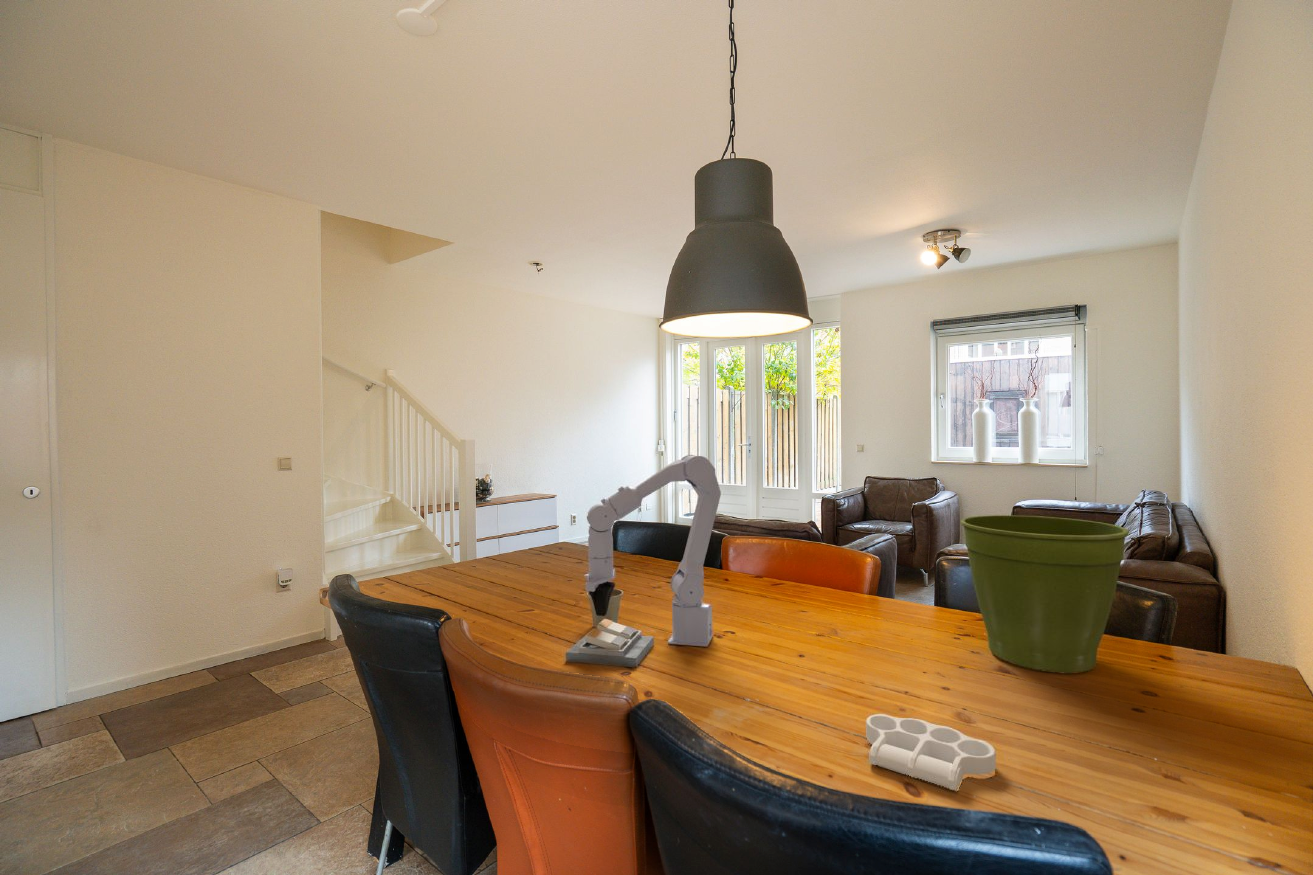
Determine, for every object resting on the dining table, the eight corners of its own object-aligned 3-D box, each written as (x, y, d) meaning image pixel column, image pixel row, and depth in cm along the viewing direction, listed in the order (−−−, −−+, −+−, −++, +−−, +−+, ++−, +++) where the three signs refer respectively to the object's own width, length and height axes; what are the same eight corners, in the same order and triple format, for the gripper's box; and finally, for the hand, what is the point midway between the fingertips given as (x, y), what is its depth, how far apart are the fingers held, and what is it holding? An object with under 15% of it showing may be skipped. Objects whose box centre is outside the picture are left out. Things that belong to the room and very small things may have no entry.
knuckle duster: (847, 763, 88) (879, 724, 99) (984, 808, 76) (1002, 759, 88) (846, 740, 88) (878, 704, 99) (983, 782, 76) (1001, 736, 88)
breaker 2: (634, 635, 138) (636, 628, 138) (628, 642, 133) (630, 635, 133) (603, 625, 140) (604, 618, 140) (596, 631, 136) (597, 624, 135)
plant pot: (962, 671, 120) (960, 529, 120) (963, 628, 146) (961, 512, 146) (1149, 699, 106) (1146, 539, 106) (1113, 646, 132) (1111, 518, 132)
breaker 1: (625, 645, 131) (626, 638, 131) (618, 652, 127) (620, 645, 127) (592, 634, 133) (593, 627, 133) (584, 641, 129) (586, 634, 129)
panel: (653, 645, 138) (653, 631, 138) (636, 667, 124) (635, 652, 124) (589, 640, 142) (589, 626, 142) (565, 661, 129) (565, 646, 129)
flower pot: (622, 631, 148) (621, 597, 148) (584, 632, 148) (584, 597, 148) (625, 620, 157) (624, 587, 157) (589, 620, 157) (589, 588, 158)
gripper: (595, 550, 146) (596, 605, 146) (572, 562, 132) (573, 623, 132) (623, 551, 144) (623, 607, 144) (602, 563, 130) (602, 625, 130)
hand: (601, 615), depth 138 cm, fingers closed
